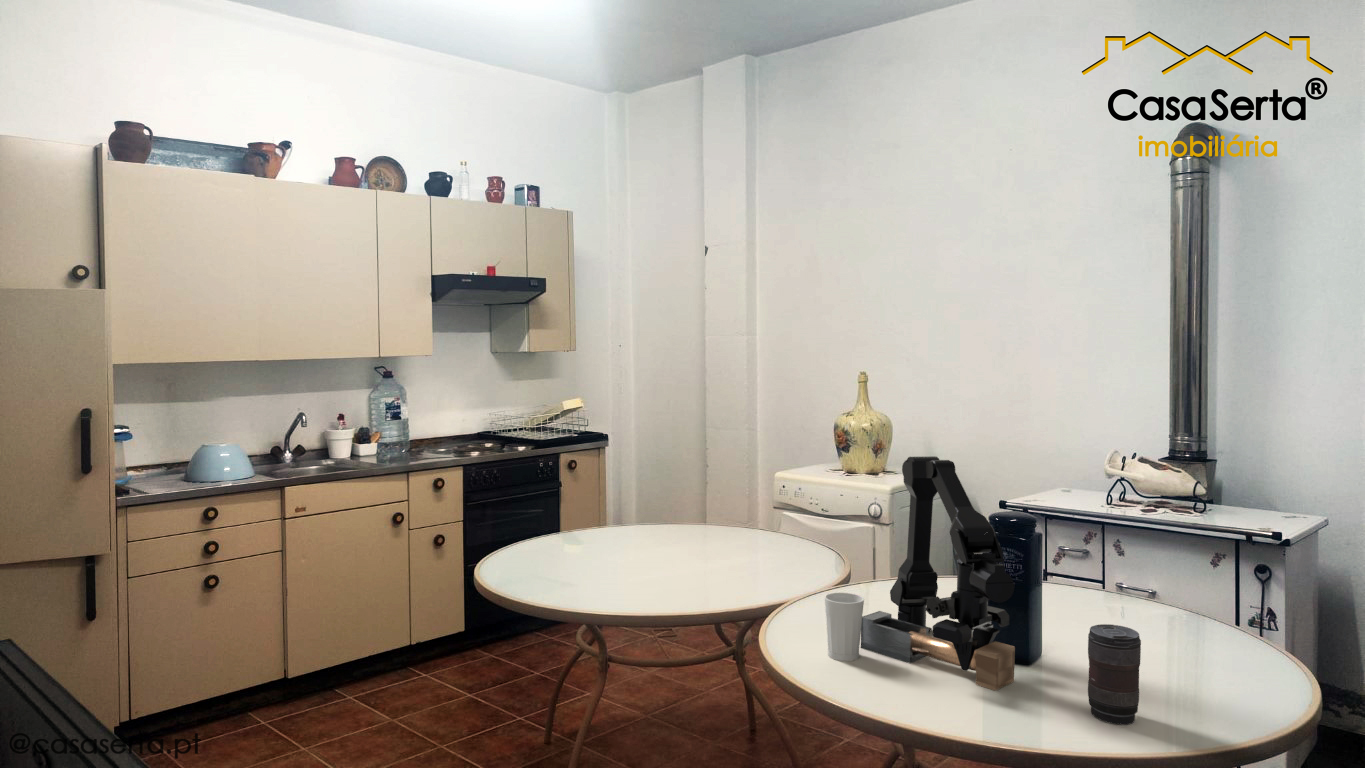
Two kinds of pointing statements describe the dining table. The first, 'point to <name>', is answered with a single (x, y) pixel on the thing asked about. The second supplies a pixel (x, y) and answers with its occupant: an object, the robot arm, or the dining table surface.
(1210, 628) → the dining table surface
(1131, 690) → the camera lens
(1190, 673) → the dining table surface
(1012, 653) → the socket
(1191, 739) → the dining table surface
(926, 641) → the tube
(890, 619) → the grey channel holder
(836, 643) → the cup
